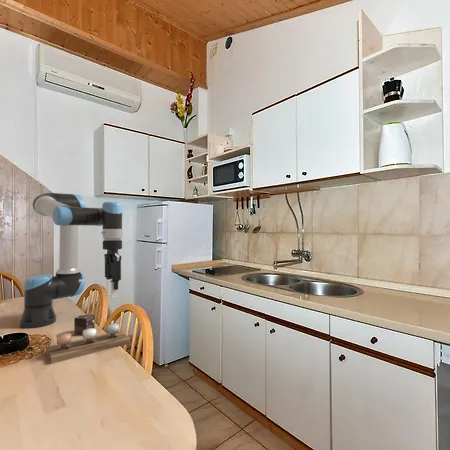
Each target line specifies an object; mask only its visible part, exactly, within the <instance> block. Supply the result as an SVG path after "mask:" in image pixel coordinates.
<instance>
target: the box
mask: <svg viewBox="0 0 450 450" xmlns="http://www.w3.org/2000/svg"><path fill="white" fill-rule="evenodd" d="M73 322H74V329H73V330H74V335H79V336H80V335H82V336H83V331H84V330H86V329H90V328H94V329H95V314H88V313H87V314H85V313H84V314H81V315H78V316H76V317H74V319H73Z"/></svg>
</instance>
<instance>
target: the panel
mask: <svg viewBox="0 0 450 450" xmlns="http://www.w3.org/2000/svg"><path fill="white" fill-rule="evenodd" d="M119 331H120V332H117V333H115V337H110V333H107V332H106V333H103V334H98V335H97V334H96V337H94V338H92V342H90V343H87V339H84V338H81V339H76V340H71V342H69V343H67V347H66V348H61V344H57V343H56V344H53V345H50V346H46V347H45V354H46V355H47V358H48V359H49V362H50V363H51V364H55V363H59V362H64V361H67V360H71V359H74V358H79V357H82V356H87V355H90V354H94V353H98V352H101V351H106V350H110V349H113V348H118V347H122V346H125V345H129V344H131V337H130V336H128V335H127V334H125V333H124V332H123V331H121V330H119Z"/></svg>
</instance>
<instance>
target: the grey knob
mask: <svg viewBox="0 0 450 450" xmlns="http://www.w3.org/2000/svg"><path fill="white" fill-rule="evenodd" d="M119 331H120V324H119V323H110V324H107V325H106V333H110V337H115V333H117V332H119Z"/></svg>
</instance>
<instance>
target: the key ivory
mask: <svg viewBox="0 0 450 450" xmlns="http://www.w3.org/2000/svg"><path fill="white" fill-rule="evenodd" d="M96 336H97V328H95V327H94V328H90V329H86V330H84V331H83V335H82V339H87V343H90V342H92V338H94V337H96Z"/></svg>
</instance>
